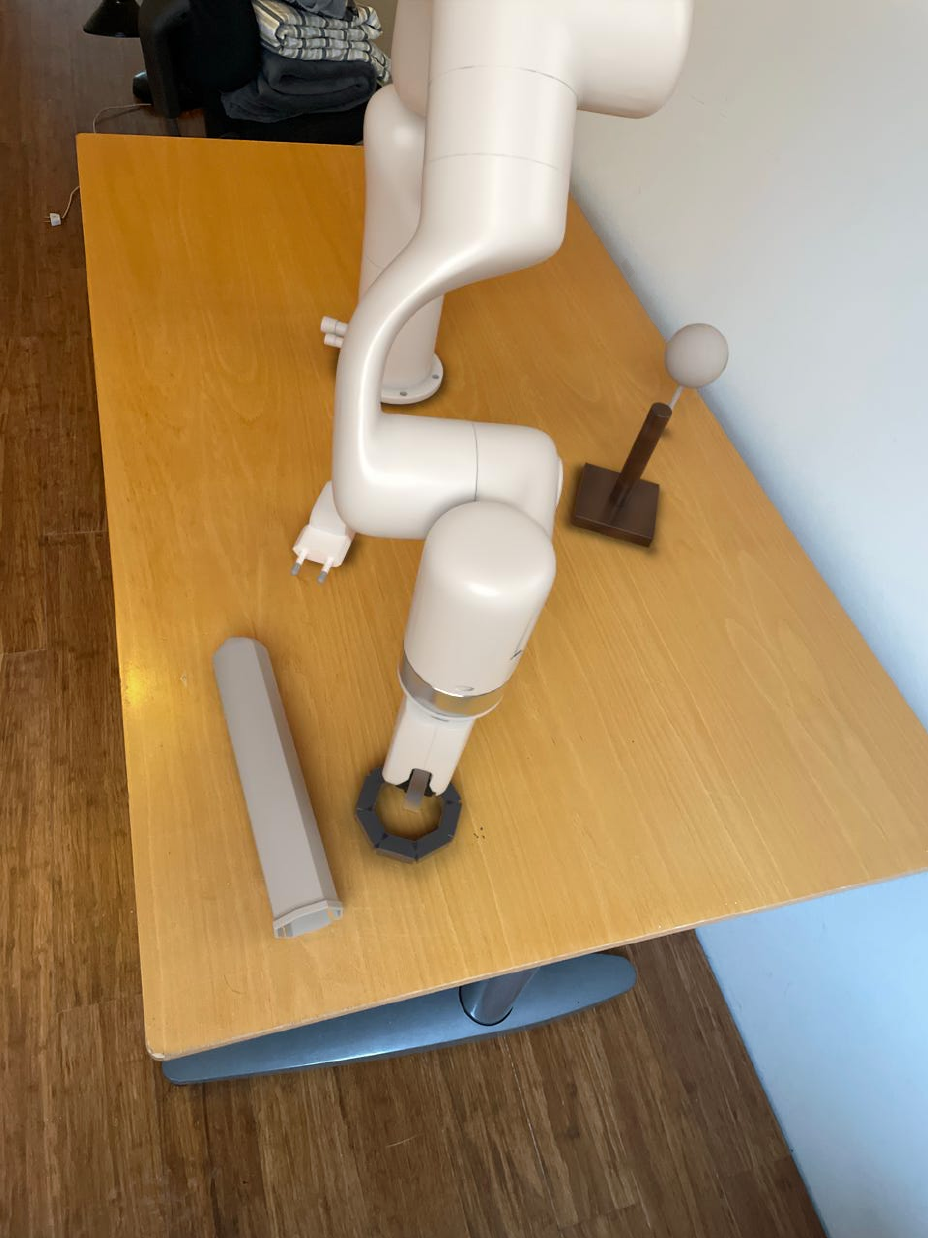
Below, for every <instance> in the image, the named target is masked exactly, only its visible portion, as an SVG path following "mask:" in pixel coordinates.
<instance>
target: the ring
mask: <svg viewBox="0 0 928 1238" xmlns="http://www.w3.org/2000/svg"><path fill="white" fill-rule="evenodd" d="M383 767H384V764H383V765H380V766H379V767H377V768H375V769H372V770H370V771H369V773H368V775H365V778H364V781H363V784H362V787H361V790H360V793H359V796H358V799H357V802H356V805H355V809H354V815H355V816H354V821H355V823H356V825H357V827H358V828H359V830H360V832H361V834H362V835H363V837H364V839H365V841H366V843H367V845H368V846H369V849H370V850H371V851H372V852H374V851H376V852H375V855H377V856H379V857H380V856H381V857H384V858H387V859H391V860H393V861H398V862H400V863H405V864H407V865H410V866H412V865H414V862H415V864H416V865H418V864H420V863H422V862H424V861H426V860H427V859H429V858H431V857H433V856H435V855H437V854H438V853H440V852H442V851H445V850H446V849H447V848H449V847H450V846H451V845H450V844H451V843H453V841H454V839H455V836H456V833H457V828H458V824H459V820H460V817H461V811H462V808H463V803H462V802H461V801H462V797H461V796H460V794H459V792H458V791H457V789H456V787H455V786H454V784H453V783H452V781H451V780H450V782H449V784H448V786H447V788H446V790H445V791H444V792H443V793H441V794H440V795H437V796H435V793H434V794H433V796H434V797H435V799H436V800H437V802H438V804H439V805H440V807H441V814H440V817H439V821H438V825H437V828H436V829H435V830H433V831H430V832H429V833H428V834H425V835H423V836H422V837H419V838H418V839H415V840H412V839H408V838H406V837H402V836H398V835H395V834H391V833H388V832H387V831H386V829H385V826H384V825H383V823H382V821H381V820H380V818H379V816H378V814H377V813H376V811H375V808H376V804H377V800H378V798H379V795H380V792H381V791H382V790H384V789H386V788H388V787H390V786H392V785H393V784H391V783H389V782H386V781H385V780H384V778H383V775H382V771H383Z"/></svg>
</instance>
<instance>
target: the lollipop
mask: <svg viewBox="0 0 928 1238" xmlns="http://www.w3.org/2000/svg"><path fill="white" fill-rule="evenodd" d="M728 345H729V344H728V342H727V339H726V336H724V334H723V333H722V332H721V331H720V330H719V329H718V328H716V327H715V326H713V325H711V324H707V323H704V322H703V323H702V322H701V323H699V322H696V323H690V324H688V325H687V324H686V325H685V326H683V327H681V328H680V329H678V330H677V331H676V332H675V333H674V334H673V335H672V337H671V338H670V339H669V340H668V342H667V344H666V346H665V349H664V354H663V356H664V357H663V358H664V359H663V360H664V367H665V370H666V372H667V374H668V375H669V377H670V378H671V379H672V380H673V381H674V382H675V383H676V384H678V385H677V387H676V389H675V391H674V393H673V395H672V397H671V399H670V401H669V404H667V405H668V406H669V407H670V408H671V410H672V411H673V409H674V408H675V405H676V404H677V402H678V400H679V398H680V396H681V393H682V392H683V389H684V388H688V389H700V388H705V387H708V386H709V385H711V384H712V383H714V382H716V381H717V380H718V379H719V378H720V376H722V374H723V373H724V371H725V369H726V368H727V364H728V360H729V355H730V352H729V346H728Z"/></svg>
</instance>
